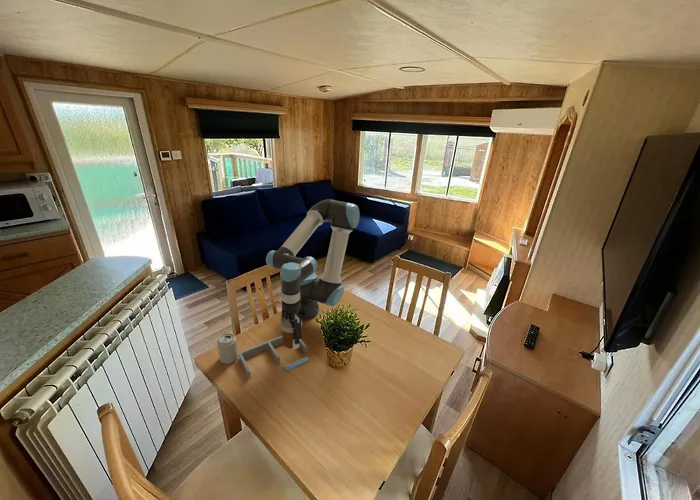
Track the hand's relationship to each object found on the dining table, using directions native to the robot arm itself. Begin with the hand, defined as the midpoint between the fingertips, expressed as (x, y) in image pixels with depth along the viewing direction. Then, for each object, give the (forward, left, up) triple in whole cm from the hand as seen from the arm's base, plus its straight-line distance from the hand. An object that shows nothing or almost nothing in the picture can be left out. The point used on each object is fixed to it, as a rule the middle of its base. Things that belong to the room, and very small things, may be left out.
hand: (291, 342), depth 123 cm
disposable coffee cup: (0, 0, -1) cm, 1 cm away
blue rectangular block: (0, +5, -9) cm, 10 cm away
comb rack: (+6, -5, -9) cm, 12 cm away
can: (+23, -14, -9) cm, 29 cm away
